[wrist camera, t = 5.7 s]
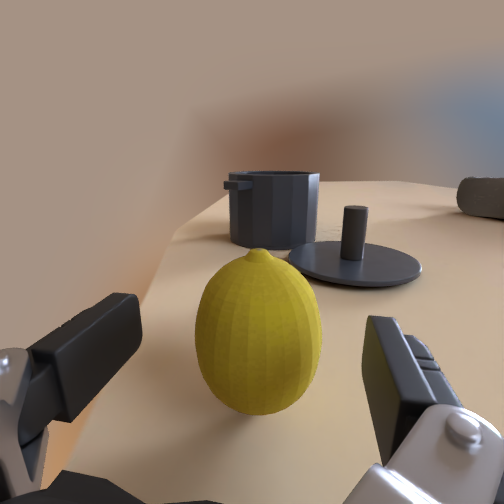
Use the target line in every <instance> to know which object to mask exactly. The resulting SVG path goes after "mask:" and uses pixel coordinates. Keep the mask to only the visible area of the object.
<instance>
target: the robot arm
mask: <svg viewBox="0 0 504 504" xmlns="http://www.w3.org/2000/svg"><path fill="white" fill-rule="evenodd" d="M141 341H142V324H141V316H140V308H139V301H138V298H137V296H136V295H135V294H126V293H112V294H110V295H109V296H107V297H106V298H105V299H103V300H102V301H100V302H99V303H97V304H96V305H95V306H93V307H91V308H88V309H86V310H84V311H82V312H80V313H79V314H77V315H76V316H74V317H73V318H72V319H71V320H69V321H67V322H66V323H64V324H63V325H62V326H61V327H58V328H57V329H55V330H54V331H52V332H51V333H49V334H48V335H46V336H45V337H43V338H42V339H40V340H39V341H37V342H36V343H34V344H33V345H31V346H30V347H28V348H27V349H22V348H7V349H2V350H0V504H146V503H144V502H142V501H140V500H139V499H137V498H136V497H134V496H133V495H131V494H129V493H128V492H126V491H125V490H123V489H121V488H120V487H118V486H117V485H115V484H113V483H112V482H110V481H109V480H107V479H103V478H99V477H94V476H89V475H84V474H80V473H75V472H70V471H65V470H62V471H61V472H60V473H59V475H58V476H57V477H56V478H55V480H54V481H53V482H52V483H51V485H50V486H49V487H48V488H47V489H43V490H40V487H41V481H42V474H43V468H44V462H45V456H46V450H47V444H48V437H49V432H48V428H47V425H48V424H49V423H50V422H51V421H52V420H56V421H62V422H67V423H71V422H72V421H73V420H74V419H75V418H76V417H77V416H78V415H79V414H80V413H81V411H82V410H83V409H84V408H85V407H86V406H87V405H88V404H89V403H90V401H91V400H92V399H93V398H94V397H95V396H96V395H97V394H98V393H99V392H100V390H101V389H102V388H103V387H104V386H105V385H106V384H107V383H108V382H109V381H110V379H111V378H112V377H113V376H114V375H115V374H116V373H117V372H118V371H119V369H120V368H121V367H122V366H123V365H124V364H125V363H126V362H127V361H128V360H129V358H130V357H131V356H132V355H133V354H134V353H135V352H136V351H137V349H138V348H139V346H140V344H141ZM362 377H363V382H364V386H365V391H366V395H367V399H368V404H369V408H370V413H371V417H372V421H373V426H374V430H375V435H376V439H377V443H378V448H379V452H380V456H381V461H382V465H383V467H382V466H381V465H380V464H378V463H375V464H374V465H372V466H371V467H370V468H369V469H368V471H367V472H366V473H365V474H364V476H363V477H362V478H361V480H360V481H359V482H358V484H357V485H356V486H355V488H354V489H353V490H352V492H351V493H350V494H349V496H348V497H347V498H346V500H345V501H344V502H343V504H504V439H503V437H502V436H501V434H500V433H499V432H498V431H497V430H496V429H495V428H494V427H493V426H492V425H491V424H489V423H488V422H487V421H485V420H484V419H482V418H481V417H479V416H478V415H476V414H474V413H472V412H470V411H468V410H466V409H464V407H463V405H462V404H461V402H460V400H459V399H458V397H457V396H456V394H455V392H454V391H453V389H452V387H451V386H450V384H449V382H448V381H447V379H446V377H445V376H444V374H443V372H441V371H440V367H439V366H438V364H437V362H436V361H434V357H433V356H432V354H431V352H430V351H429V349H428V348H427V346H426V345H424V344H423V343H422V342H421V341H419V340H418V339H417V338H416V337H414V336H413V335H403V333H402V331H401V329H400V327H399V325H398V323H397V321H396V319H395V318H393V317H382V316H370V315H369V316H368V318H367V323H366V330H365V338H364V346H363V354H362ZM166 504H222V503H217V502H213V501H208V500H204V501H191V502H179V503H166Z"/></svg>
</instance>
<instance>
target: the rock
mask: <svg viewBox="0 0 504 504" xmlns="http://www.w3.org/2000/svg"><path fill="white" fill-rule="evenodd" d="M456 198H457V204H458V207H459V208H460V209H461V210H462V211H463V212H464V213H466V214H469V215H474V216H483V217H494V218H501V219H504V178H492V177H481V178H480V177H468V178H465V179H464V180H462V181H461V183H460V185H459V187H458V191H457V197H456Z"/></svg>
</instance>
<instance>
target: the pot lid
mask: <svg viewBox="0 0 504 504" xmlns="http://www.w3.org/2000/svg"><path fill="white" fill-rule="evenodd" d="M367 218H368V207H364V206H345V207H344V216H343V228H342V239H341V241H324V242H314V243H308V244H304V245H301V246H298V247H296V248H294V249H293V250H291V252H290V253H289V262H290V264H291V265H292V266H293V267H294V268H296V269H297V270H298V271H300V272H302V273H304V274H306V275H309V276H312V277H314V278H318V279H321V280H325V281H329V282H334V283H339V284H346V285H354V286H372V287H375V286H393V285H399V284H404V283H408V282H410V281H413V280H415V279H416V278H418V277H419V276H420V273H421V264H420V263H419V262H418V261H417V260H416V259H415V258H413V257H412V256H410V255H408V254H405V253H403V252H400V251H398V250H395V249H391V248H387V247H383V246H379V245H374V244H367V243H365V235H366V227H367Z"/></svg>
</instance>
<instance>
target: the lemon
mask: <svg viewBox="0 0 504 504" xmlns="http://www.w3.org/2000/svg"><path fill="white" fill-rule="evenodd" d="M321 345H322V329H321V321H320V315H319V310H318V306H317V302H316V298H315V295H314V292H313V290H312V288H311V286H310V284H309V283H308V281H307V280H306V279H305V278H304V277H303V275H302V274H301V273H300V272H299V271H298V270H297V269H296V268H294V267H293V266H292V265H290V264H289V263H287V262H285V261H284V260H281V259H279V258H276V257H274V256H271V255H270V254H269V252H268V251H267V250H266V249H262V248H255V249H251V250H250V251H249V252H248V254H247V255H246V256H243V257H240V258H237V259H235V260H233V261H231V262H229V263H228V264H226V265H225V266H223V267H222V268H221V269H220V270H219V271H218V272H217V273H216V274H215V275H214V276H213V277H212V278H211V279H210V281H209V282H208V284H207V285H206V287H205V289H204V292H203V294H202V298H201V301H200V304H199V308H198V312H197V317H196V324H195V346H196V352H197V358H198V363H199V367H200V370H201V373H202V376H203V378H204V380H205V381H206V383H207V385H208V386H209V388H210V389H211V391H212V393H213V394H214V395H215V396H216V397H217V398H218V399H219V400H220V401H222V402H223V403H224V404H225V405H227V406H228V407H230V408H232V409H234V410H236V411H238V412H241V413H245V414H249V415H267V414H273V413H276V412H279V411H281V410H284V409H286V408H287V407H289V406H290V405H292V404H293V403H294V402H296V401H297V400H298V399H299V398H300V397H301V396H302V395H303V393H304V392H305V391H306V389H307V388H308V386H309V385H310V383H311V382H312V380H313V377H314V375H315V372H316V369H317V365H318V361H319V357H320V352H321Z"/></svg>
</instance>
